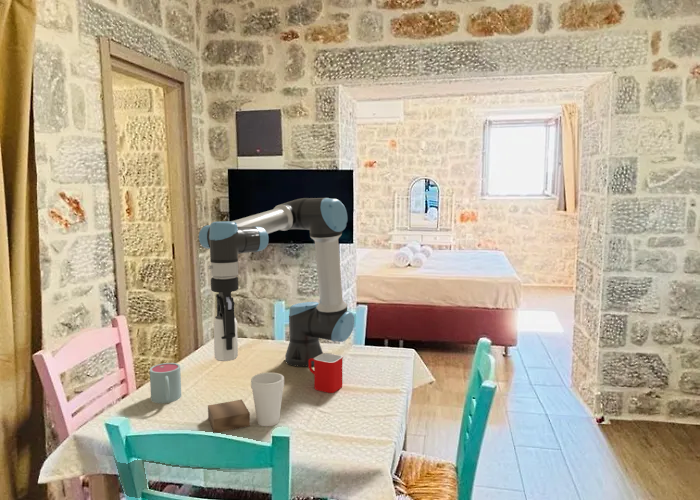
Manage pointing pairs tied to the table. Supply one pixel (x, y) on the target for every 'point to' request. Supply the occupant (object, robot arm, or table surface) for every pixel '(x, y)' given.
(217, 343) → the can
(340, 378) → the mug
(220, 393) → the table surface
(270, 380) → the foam cup
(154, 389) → the mug
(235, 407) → the walnut block
